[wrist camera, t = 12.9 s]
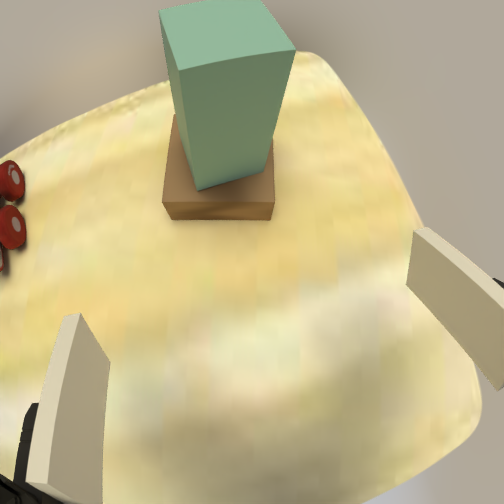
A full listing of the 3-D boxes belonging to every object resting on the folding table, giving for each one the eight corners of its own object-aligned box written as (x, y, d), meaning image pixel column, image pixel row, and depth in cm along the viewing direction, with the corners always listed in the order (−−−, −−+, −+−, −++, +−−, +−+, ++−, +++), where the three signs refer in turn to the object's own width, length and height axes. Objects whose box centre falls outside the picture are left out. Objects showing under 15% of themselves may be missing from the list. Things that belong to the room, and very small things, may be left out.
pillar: (197, 191, 23) (178, 70, 11) (179, 135, 23) (158, 10, 12) (263, 171, 23) (296, 49, 12) (241, 119, 24) (255, -6, 13)
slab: (172, 221, 26) (161, 201, 22) (180, 140, 28) (173, 114, 24) (269, 221, 27) (274, 202, 23) (267, 140, 29) (271, 113, 25)
